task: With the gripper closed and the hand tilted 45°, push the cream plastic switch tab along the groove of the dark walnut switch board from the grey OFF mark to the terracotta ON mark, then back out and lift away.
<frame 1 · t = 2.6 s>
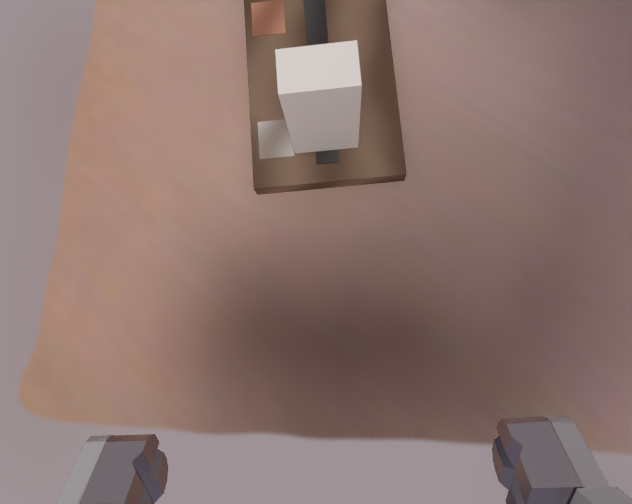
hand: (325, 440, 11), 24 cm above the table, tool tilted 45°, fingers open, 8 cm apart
switch tab: (322, 104, 31), point 6 cm above the table, slide at 0.0 cm
switch board: (319, 66, 39), on the table
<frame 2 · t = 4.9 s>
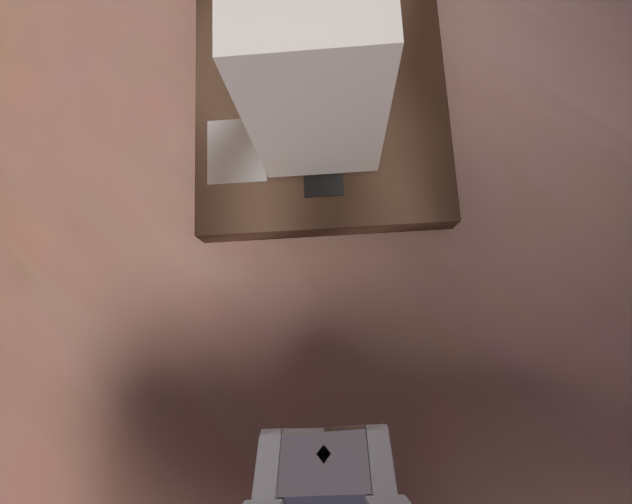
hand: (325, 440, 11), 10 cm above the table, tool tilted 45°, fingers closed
switch tab: (315, 91, 16), point 6 cm above the table, slide at 0.0 cm
switch board: (316, 33, 24), on the table
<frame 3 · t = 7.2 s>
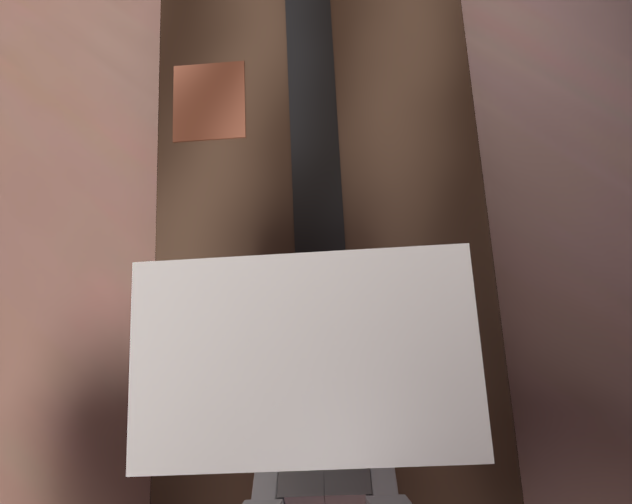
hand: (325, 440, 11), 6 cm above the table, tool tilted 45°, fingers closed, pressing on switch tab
switch tab: (318, 349, 11), point 6 cm above the table, slide at 1.6 cm, touching gripper
switch board: (319, 205, 18), on the table
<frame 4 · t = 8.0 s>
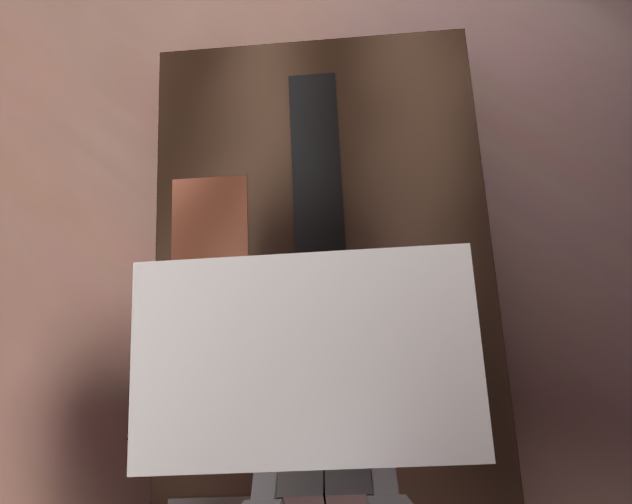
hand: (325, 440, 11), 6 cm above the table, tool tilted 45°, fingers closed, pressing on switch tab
switch tab: (318, 349, 11), point 6 cm above the table, slide at 6.3 cm, touching gripper
switch board: (325, 325, 17), on the table
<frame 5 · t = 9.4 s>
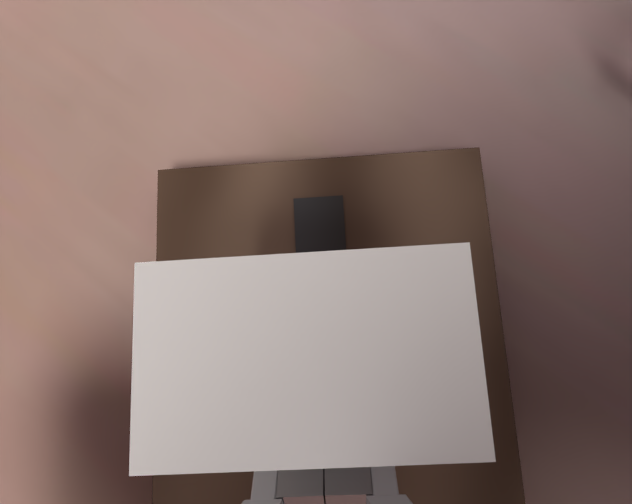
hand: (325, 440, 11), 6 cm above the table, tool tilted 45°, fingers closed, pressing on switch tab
switch tab: (319, 348, 11), point 6 cm above the table, slide at 11.2 cm, touching gripper
switch board: (334, 464, 16), on the table
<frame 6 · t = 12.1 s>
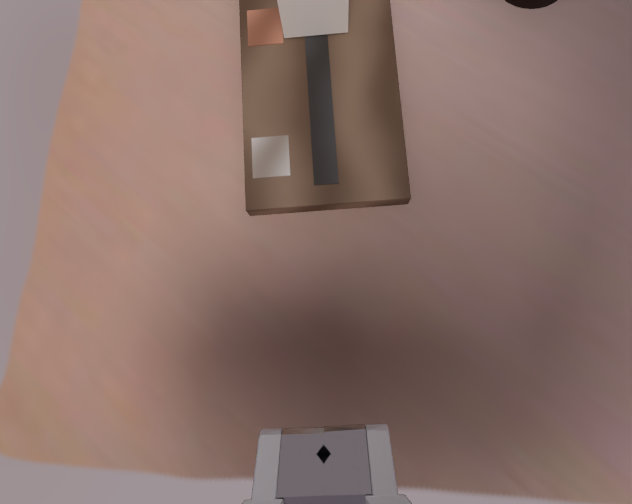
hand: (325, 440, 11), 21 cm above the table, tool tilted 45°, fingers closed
switch board: (319, 78, 36), on the table
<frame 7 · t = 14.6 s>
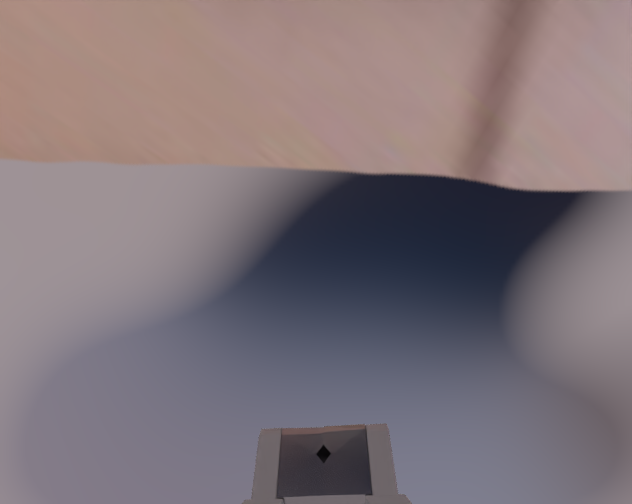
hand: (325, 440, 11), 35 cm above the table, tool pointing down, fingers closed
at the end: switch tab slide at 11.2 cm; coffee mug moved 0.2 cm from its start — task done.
